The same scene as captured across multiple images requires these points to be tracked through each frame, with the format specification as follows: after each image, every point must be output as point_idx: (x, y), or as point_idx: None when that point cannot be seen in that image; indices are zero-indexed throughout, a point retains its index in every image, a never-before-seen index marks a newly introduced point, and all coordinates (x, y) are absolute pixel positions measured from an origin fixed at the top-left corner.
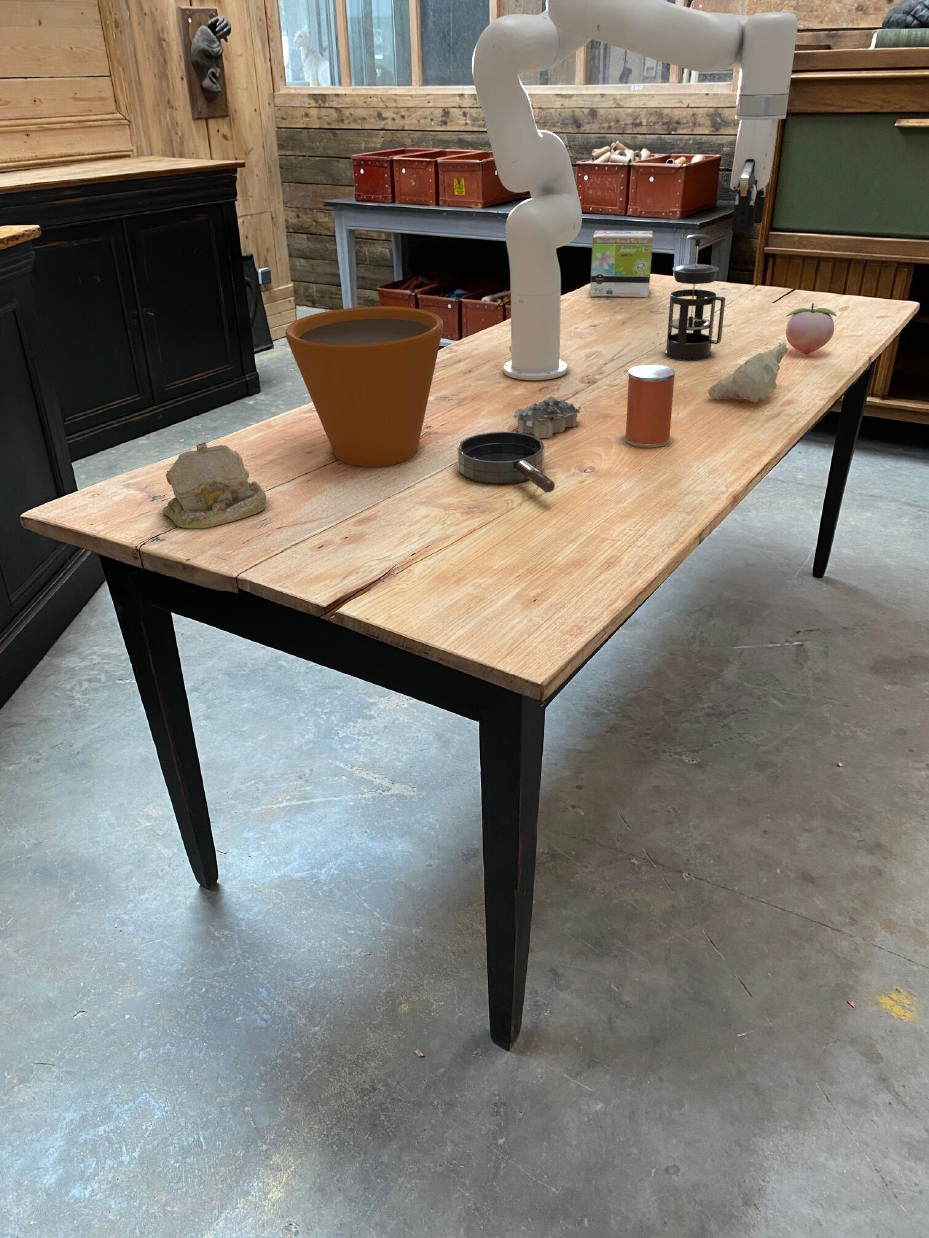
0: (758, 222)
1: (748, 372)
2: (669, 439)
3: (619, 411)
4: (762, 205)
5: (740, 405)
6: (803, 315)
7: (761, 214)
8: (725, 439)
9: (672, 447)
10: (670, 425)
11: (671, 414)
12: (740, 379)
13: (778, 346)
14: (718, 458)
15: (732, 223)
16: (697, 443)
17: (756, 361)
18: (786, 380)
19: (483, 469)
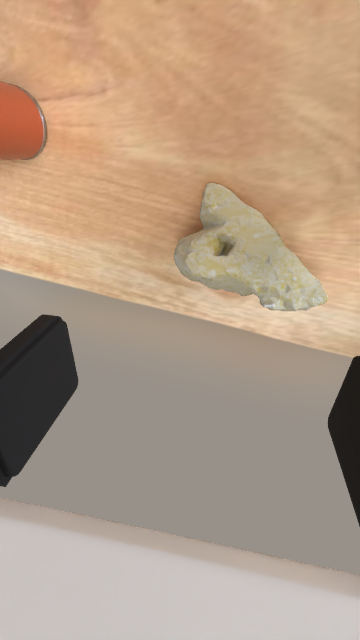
0: (331, 415)
1: (174, 256)
2: (23, 159)
3: (116, 23)
4: (353, 502)
5: None
6: None
7: (337, 455)
8: (70, 230)
9: (14, 168)
10: (13, 159)
11: (4, 159)
12: (179, 242)
13: (286, 300)
14: (13, 229)
15: (21, 332)
16: (42, 198)
17: (184, 271)
18: (335, 288)
19: None
